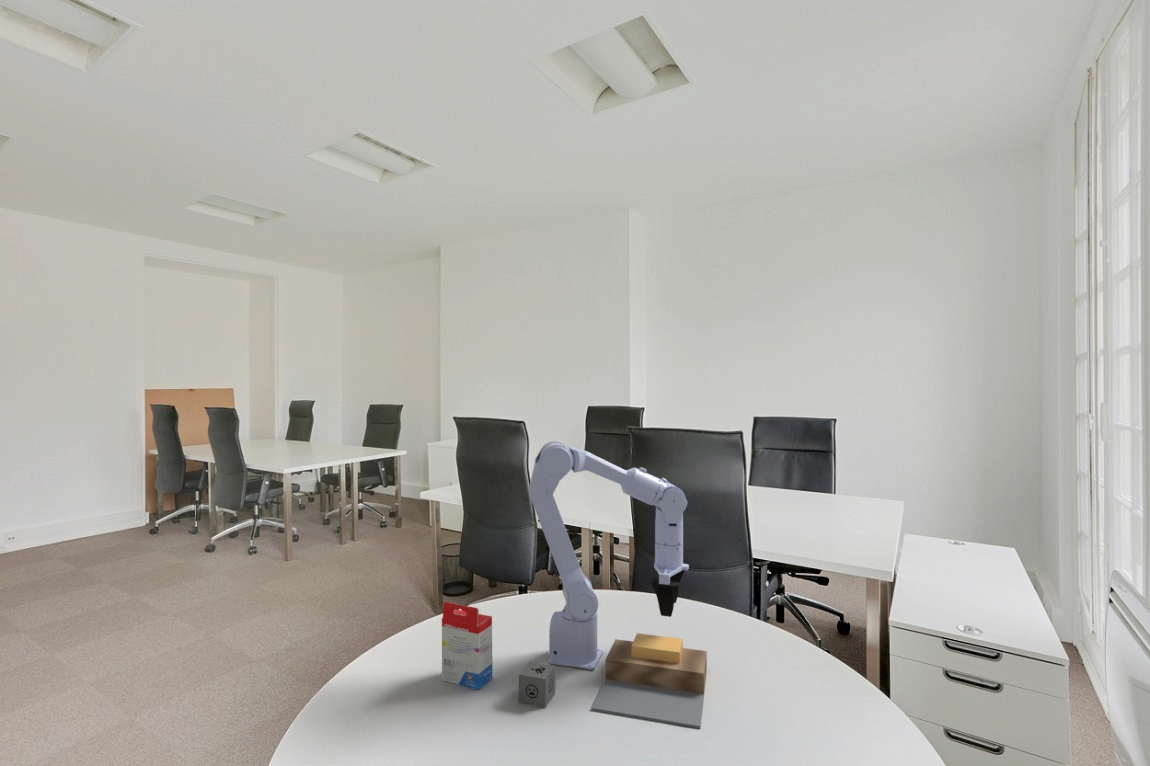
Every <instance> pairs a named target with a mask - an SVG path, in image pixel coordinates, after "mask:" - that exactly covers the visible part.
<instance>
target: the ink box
mask: <svg viewBox="0 0 1150 766" xmlns="http://www.w3.org/2000/svg"><path fill="white" fill-rule="evenodd" d="M492 679H493V616H492V615H487V614H482V613H479V608H478V607H474V606H469V605H464V604H459V603H453V602H447V601H443V603H442V618H441V680H442V681H443V682H446V683H452V684H455V685H459V686H462V687H466V688H469V689H472V690H477V691H479V690H480V689H482V687H483V686H485V685H486V684H487V683H488V682H489V681H490V680H492Z"/></svg>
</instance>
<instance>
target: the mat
mask: <svg viewBox="0 0 1150 766" xmlns="http://www.w3.org/2000/svg"><path fill="white" fill-rule="evenodd" d="M599 689H600V690H599V691H598V693H597V696H596V698H595V699H594V702H593V704H592V706H591V711H594V712H599V713H605V714H611V715H617V716H622V717H623V716H624V717H630V718H635V719H642V720H647V721H653V722H658V723H659V722H660V723H663V724H664V723H665V724H669V725H677V726H682V727H687V728H688V727H689V728H695V729H701V726H702V725H701V724H702V717H703V709H704V707H703V706H704V698H705V693H704V694H701V693H694V692H688V691H681V690H675V689H668V688H661V687H655V686H648V685H642V684H635V683H629V682H622V681H615V680H609V679H605V678H604V681H603V683H602V685H601V687H600V688H599Z"/></svg>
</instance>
